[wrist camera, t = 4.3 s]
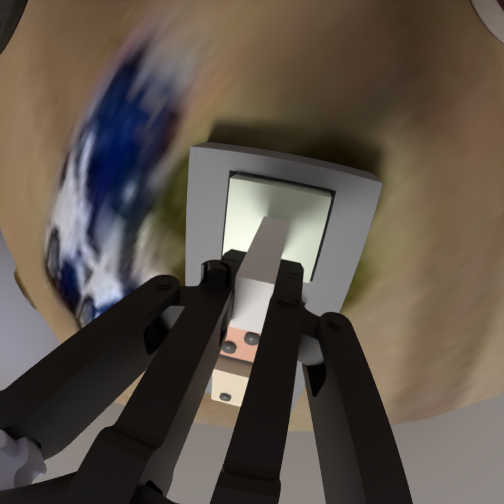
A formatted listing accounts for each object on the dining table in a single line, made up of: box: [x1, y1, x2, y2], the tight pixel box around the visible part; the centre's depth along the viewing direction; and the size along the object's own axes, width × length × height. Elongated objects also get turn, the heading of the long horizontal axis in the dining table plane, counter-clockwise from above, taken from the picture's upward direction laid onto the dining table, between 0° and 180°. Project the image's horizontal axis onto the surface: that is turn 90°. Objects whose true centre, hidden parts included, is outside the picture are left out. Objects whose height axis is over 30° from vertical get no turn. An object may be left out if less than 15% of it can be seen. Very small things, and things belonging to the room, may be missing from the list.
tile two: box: [211, 356, 253, 407], centre depth 26 cm, size 6×6×3 cm
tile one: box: [223, 171, 331, 283], centre depth 18 cm, size 6×6×3 cm
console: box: [186, 142, 383, 411], centre depth 23 cm, size 12×26×3 cm, turn 172°
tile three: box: [220, 321, 261, 362], centre depth 22 cm, size 6×6×3 cm
